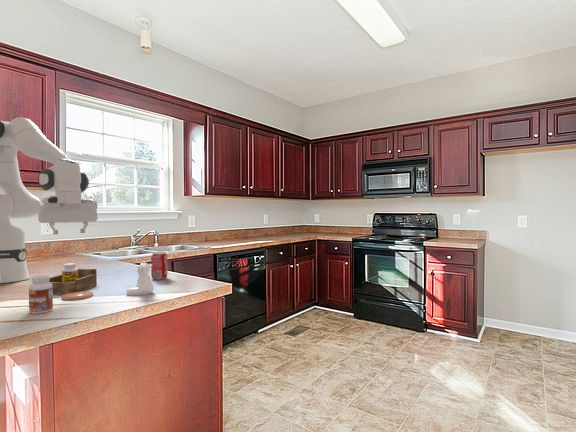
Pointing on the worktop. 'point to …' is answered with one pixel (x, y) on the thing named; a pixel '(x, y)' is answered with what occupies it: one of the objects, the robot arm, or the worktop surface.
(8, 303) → the worktop surface
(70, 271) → the supplement bottle
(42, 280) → the pill bottle
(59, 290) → the frame
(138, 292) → the seated beast figurine
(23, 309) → the worktop surface
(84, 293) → the tan oval disc
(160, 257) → the soda can
